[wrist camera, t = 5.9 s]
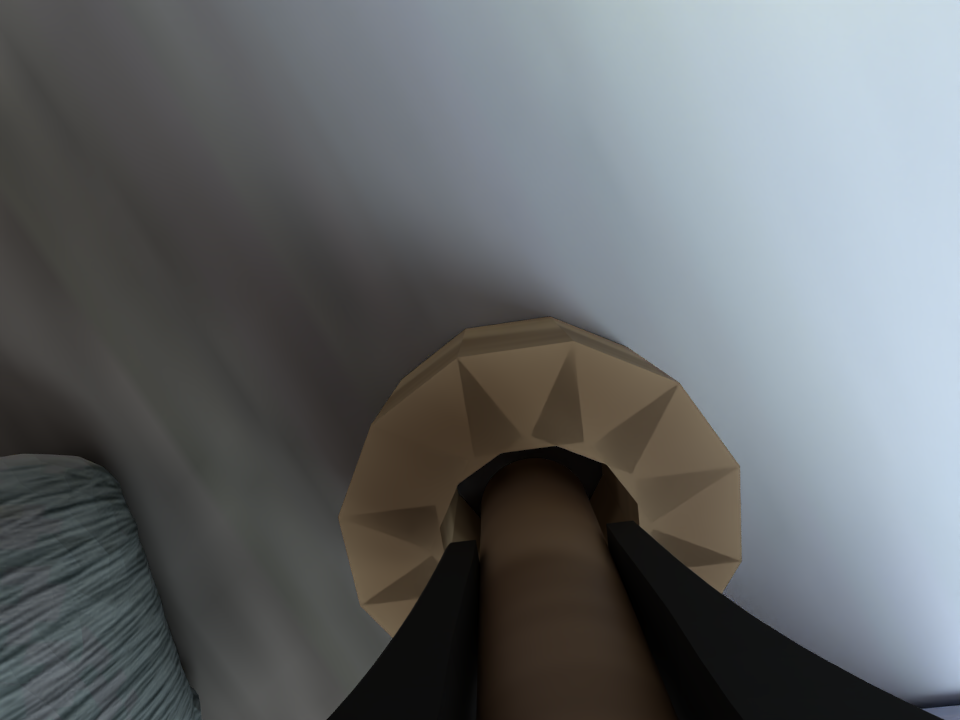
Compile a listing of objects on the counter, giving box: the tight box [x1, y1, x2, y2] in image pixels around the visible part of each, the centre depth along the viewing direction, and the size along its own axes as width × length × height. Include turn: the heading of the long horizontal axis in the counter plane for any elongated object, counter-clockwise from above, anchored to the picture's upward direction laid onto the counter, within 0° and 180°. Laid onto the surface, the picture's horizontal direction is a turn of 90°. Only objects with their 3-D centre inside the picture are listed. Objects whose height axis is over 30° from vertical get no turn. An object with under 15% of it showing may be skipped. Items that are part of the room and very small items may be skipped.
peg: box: [476, 458, 679, 720], centre depth 9 cm, size 3×3×8 cm
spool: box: [0, 454, 201, 720], centre depth 13 cm, size 14×10×10 cm
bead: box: [338, 316, 742, 638], centre depth 13 cm, size 10×10×4 cm
